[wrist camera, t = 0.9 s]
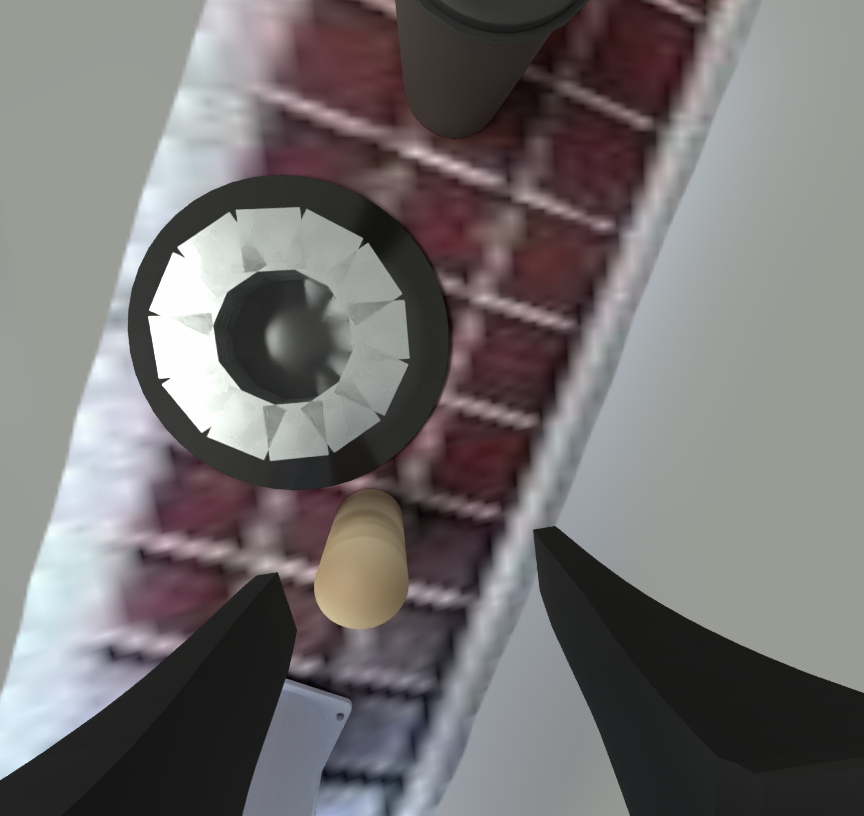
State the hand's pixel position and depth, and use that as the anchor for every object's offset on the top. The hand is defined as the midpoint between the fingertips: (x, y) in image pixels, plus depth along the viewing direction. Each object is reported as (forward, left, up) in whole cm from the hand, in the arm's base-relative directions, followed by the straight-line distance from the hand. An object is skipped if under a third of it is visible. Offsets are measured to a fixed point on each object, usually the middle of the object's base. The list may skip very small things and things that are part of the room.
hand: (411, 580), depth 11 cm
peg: (-4, 0, -13) cm, 14 cm away
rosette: (+4, +8, -13) cm, 16 cm away
